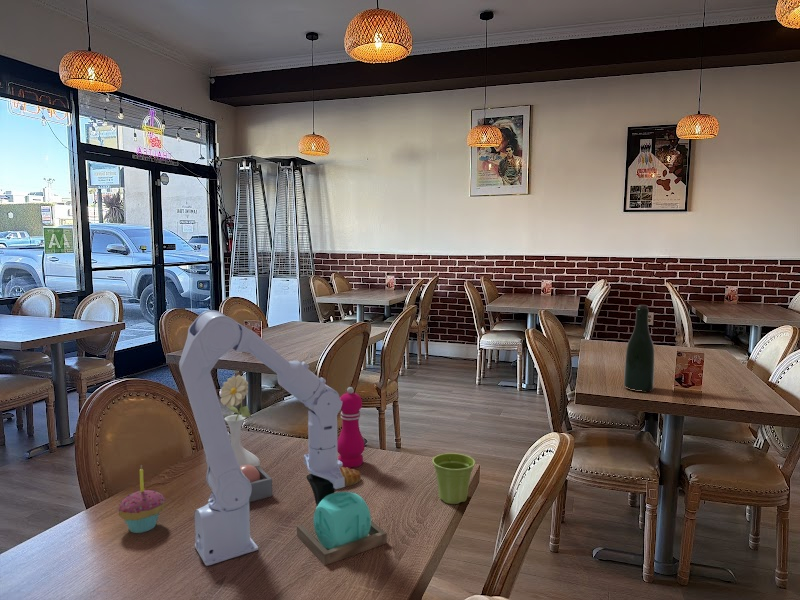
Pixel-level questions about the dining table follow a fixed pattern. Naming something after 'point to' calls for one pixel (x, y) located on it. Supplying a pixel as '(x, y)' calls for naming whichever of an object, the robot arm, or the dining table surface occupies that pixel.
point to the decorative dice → (341, 519)
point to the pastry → (350, 476)
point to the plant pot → (453, 476)
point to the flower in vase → (237, 417)
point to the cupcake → (141, 508)
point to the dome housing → (261, 486)
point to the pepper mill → (350, 431)
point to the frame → (345, 550)
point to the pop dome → (250, 473)
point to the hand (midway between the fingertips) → (323, 509)
